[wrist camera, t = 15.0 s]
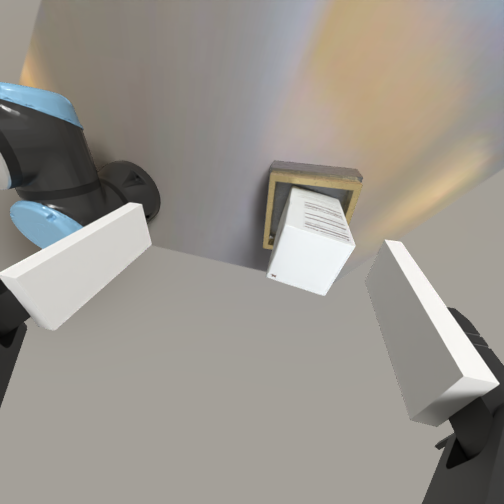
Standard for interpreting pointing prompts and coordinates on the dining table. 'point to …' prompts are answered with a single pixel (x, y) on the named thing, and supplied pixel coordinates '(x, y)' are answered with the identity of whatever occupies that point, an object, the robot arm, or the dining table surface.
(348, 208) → the gray square bin
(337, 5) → the dining table surface
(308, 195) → the supplement box
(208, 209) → the dining table surface
